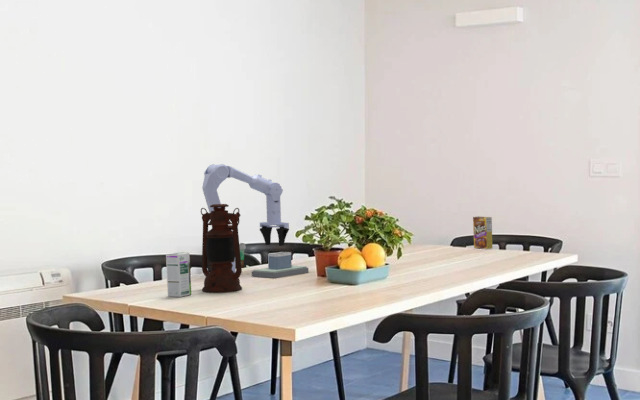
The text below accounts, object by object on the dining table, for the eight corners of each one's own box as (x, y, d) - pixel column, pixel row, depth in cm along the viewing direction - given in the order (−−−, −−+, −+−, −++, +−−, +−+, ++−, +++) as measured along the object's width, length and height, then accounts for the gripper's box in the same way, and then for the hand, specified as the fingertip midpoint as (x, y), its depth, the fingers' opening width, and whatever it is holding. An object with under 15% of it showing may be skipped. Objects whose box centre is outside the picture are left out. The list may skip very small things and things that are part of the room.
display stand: (274, 278, 342) (274, 271, 341) (251, 276, 349) (251, 270, 349) (308, 272, 357) (308, 266, 357) (286, 270, 365) (286, 264, 364)
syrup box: (180, 297, 299) (179, 253, 298) (167, 296, 302) (165, 253, 301) (191, 295, 304) (190, 252, 303) (178, 294, 307) (176, 251, 306)
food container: (233, 269, 374) (232, 245, 374) (222, 269, 378) (221, 245, 378) (252, 266, 384) (251, 243, 384) (241, 265, 388) (241, 242, 388)
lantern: (190, 291, 312) (187, 205, 311) (215, 286, 324) (212, 203, 323) (229, 293, 303) (227, 205, 302) (254, 288, 315) (251, 203, 314)
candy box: (473, 248, 436) (472, 216, 436) (479, 247, 439) (478, 216, 438) (486, 249, 429) (485, 217, 429) (492, 248, 432) (492, 216, 431)
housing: (291, 267, 354) (291, 252, 354) (277, 269, 348) (277, 254, 348) (282, 266, 358) (281, 251, 357) (268, 269, 351) (268, 253, 351)
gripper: (293, 211, 364) (294, 244, 365) (267, 211, 374) (268, 243, 374) (281, 212, 359) (282, 246, 360) (255, 212, 368) (256, 245, 369)
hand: (274, 245), depth 367 cm, fingers open, 7 cm apart
